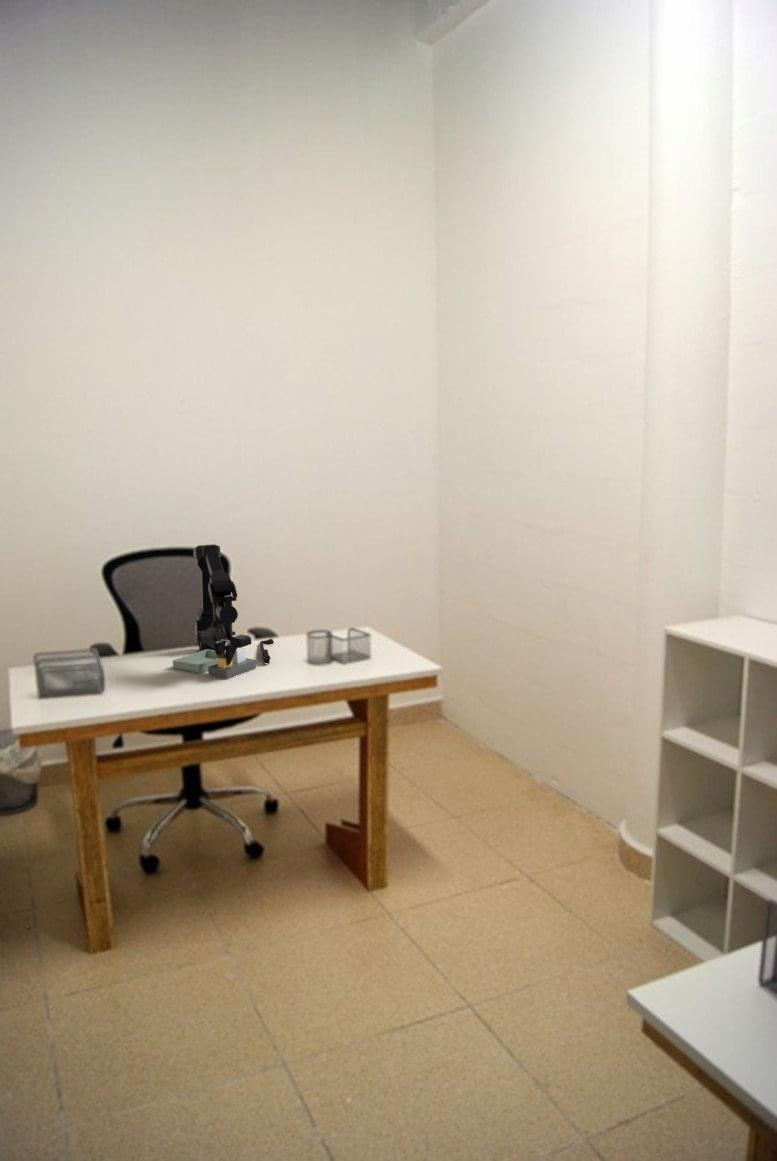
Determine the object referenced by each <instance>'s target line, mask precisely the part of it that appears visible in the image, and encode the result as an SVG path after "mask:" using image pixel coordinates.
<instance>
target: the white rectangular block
mask: <svg viewBox="0 0 777 1161" xmlns="http://www.w3.org/2000/svg"><path fill="white" fill-rule="evenodd" d="M246 653H247V652H246V648H245V647H241V648H237V650H236V652H235V654H234V656H233V659H232V662H234V663H240V662H243V661H245V660H246V658H247V657H246V655H247V654H246Z"/></svg>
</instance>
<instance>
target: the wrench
mask: <svg viewBox="0 0 777 1161" xmlns="http://www.w3.org/2000/svg"><path fill="white" fill-rule="evenodd" d="M273 643H275V642H274V639H272V638H269V639H266V640H265V639H264V640H260V641H259V645H260V650H261V653H262V659H263V662H264V664H265V663H270V660H271V656H270V655H269V654H270V653H269V650H268V649H265V647H264V646H265V645H263V644H273ZM273 645H274V644H273Z"/></svg>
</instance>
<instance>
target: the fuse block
mask: <svg viewBox="0 0 777 1161" xmlns="http://www.w3.org/2000/svg"><path fill="white" fill-rule="evenodd" d="M256 661H257V659H253V658H248V657H246V660H245V661H243V662H240V663H234V662H232V664H233V665H232V666H229V667H226V668H220V667H218V664H215V665H212V666H209V667H208V671H207V673H208V676H209V675H211V676H210V677H212V676H215V677H214V678H217V677H220V678H219V679H222V678H225V679H224V680H229V678H230V679H232V678H234V676H235V677H237V676H236V675H238V676H240V675H242V674H241V673H243V674H245V673H244V672H246V673H248V672H250V671H249V670H251V671H253V670H252V669H254V668H256V669H257V662H256ZM254 670H255V669H254ZM247 671H248V672H247ZM239 674H240V675H239ZM231 677H232V678H231Z"/></svg>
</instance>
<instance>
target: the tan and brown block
mask: <svg viewBox="0 0 777 1161" xmlns="http://www.w3.org/2000/svg"><path fill="white" fill-rule="evenodd" d="M232 665H233V664H232V661H231V664H230V665H227V661H226V651H225V653H222V654H219V655H218V667H220V668H226V667H229V666H232Z"/></svg>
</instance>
